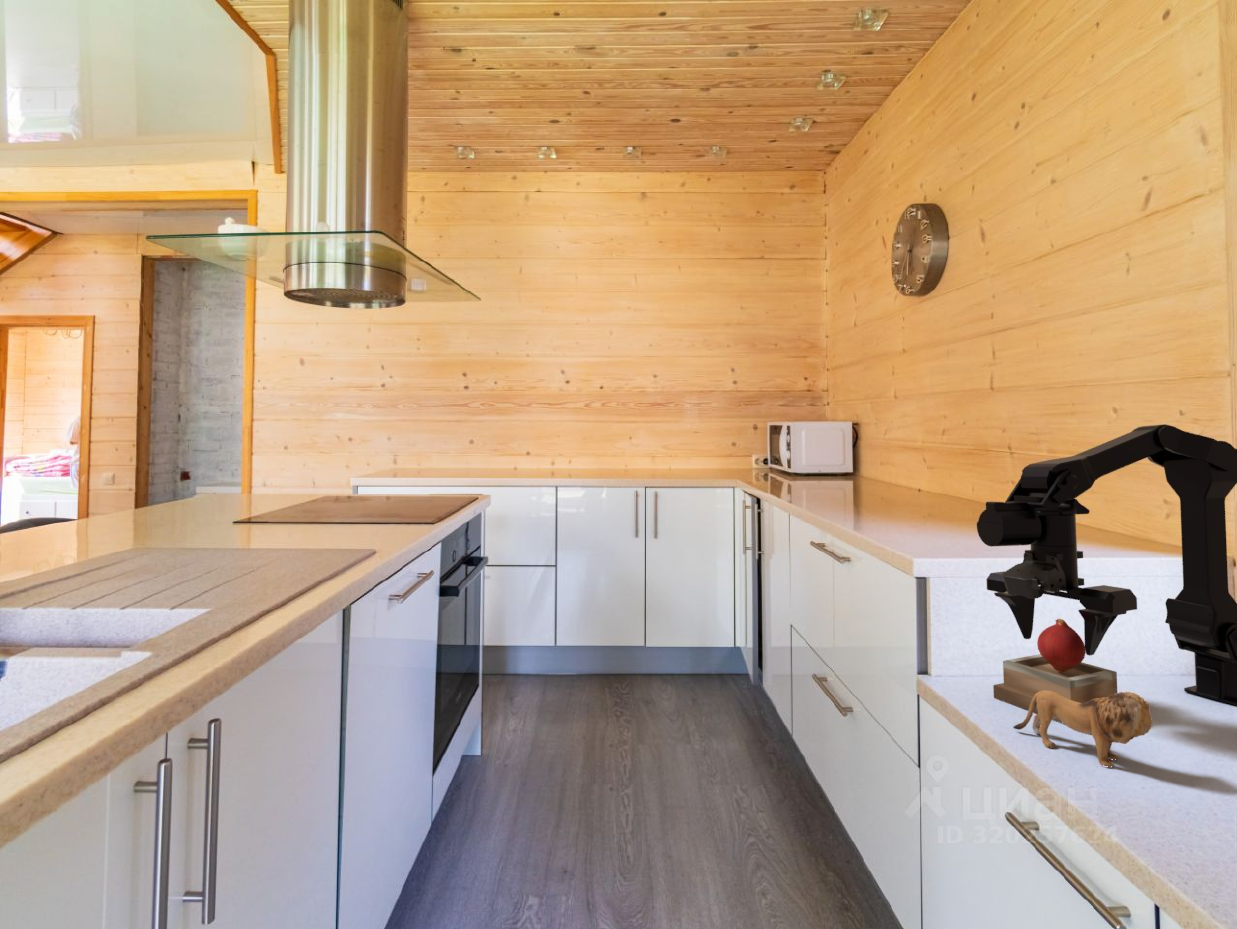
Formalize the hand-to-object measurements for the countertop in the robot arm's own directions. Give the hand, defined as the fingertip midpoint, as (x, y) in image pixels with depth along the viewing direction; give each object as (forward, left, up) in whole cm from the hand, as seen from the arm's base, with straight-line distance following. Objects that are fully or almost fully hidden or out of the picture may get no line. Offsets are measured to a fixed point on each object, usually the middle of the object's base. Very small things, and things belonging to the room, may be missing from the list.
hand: (1057, 646), depth 89 cm
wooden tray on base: (0, 0, -9) cm, 9 cm away
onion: (0, 0, -4) cm, 4 cm away
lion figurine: (+12, +11, -9) cm, 19 cm away
